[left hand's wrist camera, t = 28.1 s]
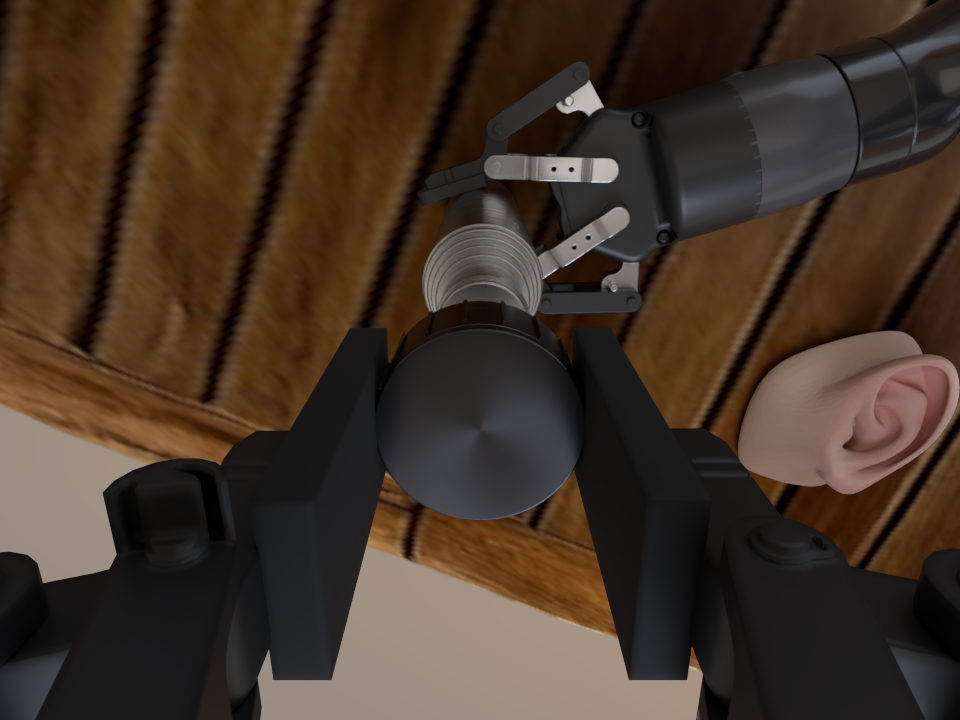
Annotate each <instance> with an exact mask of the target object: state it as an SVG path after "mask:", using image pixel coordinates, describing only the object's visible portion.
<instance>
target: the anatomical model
mask: <svg viewBox="0 0 960 720" xmlns="http://www.w3.org/2000/svg"><path fill="white" fill-rule="evenodd" d="M958 398H959V378H958V374H957V371H956V369H955V367H954V366H953V364H952V363H951V362H950V361H949V360H947V359H945V358H943V357H941V356H936V355H929V354H922V351H921V349H920V347H919V345H918V344H917V343H916V341H915V340H914V339H913V338H912V337H911V336H909V335H908V334H906V333H904V332H899V331H881V332H872V333H867V334H862V335H857V336H853V337H848V338H844V339H840V340H837V341H834V342H830V343H827V344H823V345H820V346H817V347H814V348H811V349H808V350H806V351H803V352H801V353H798V354H796V355H794V356H792V357H790V358H788V359H786V360H784V361H782V362H781V363H779V364H778V365H776V366H775V367H774V368H773V369H772V370H770V371H769V372H768V374H767V375H766V376H765V377H764V378H763V379H762V381H761V382H760V384H759V385H758V387H757V389H756V390H755V392H754V394H753V396H752V398H751V400H750V403H749V405H748V407H747V410H746V413H745V416H744V419H743V422H742V426H741V430H740V435H739V441H738V457H739V460H740V462H741V463H742V464H743V465H744V467H746V468H747V469H748V470H750V471H752V472H754V473H756V474H759V475H761V476H765V477H768V478H771V479H774V480H777V481H781V482H784V483H790V484H796V485H803V486H820V485H824V484H828V485H829V486H831V487H832V488H833V489H835V490H836V491H838V492H840V493H843V494H853V493H857V492H859V491H861V490H863V489H865V488H867V487H868V486H870V485H872V484H873V483H875V482H877V481H878V480H880V479H882V478H883V477H885V476H887V475H888V474H890V473H892V472H894V471H895V470H897V469H899V468H900V467H902V466H903V465H905V464H907V463H908V462H910V461H911V460H913V459H914V458H916V457H917V456H918V455H920V454H921V453H922V452H924V451H925V450H926V449H927V448H928V447H929V446H930V445H931V444H932V443H933V442H934V441H935V440H936V439H937V438H938V437H939V435H940V434H941V433H942V431H943V430H944V428H945V427H946V426H947V424H948V422H949V420H950V419H951V417H952V415H953V413H954V411H955V408H956V405H957V402H958Z"/></svg>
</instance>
